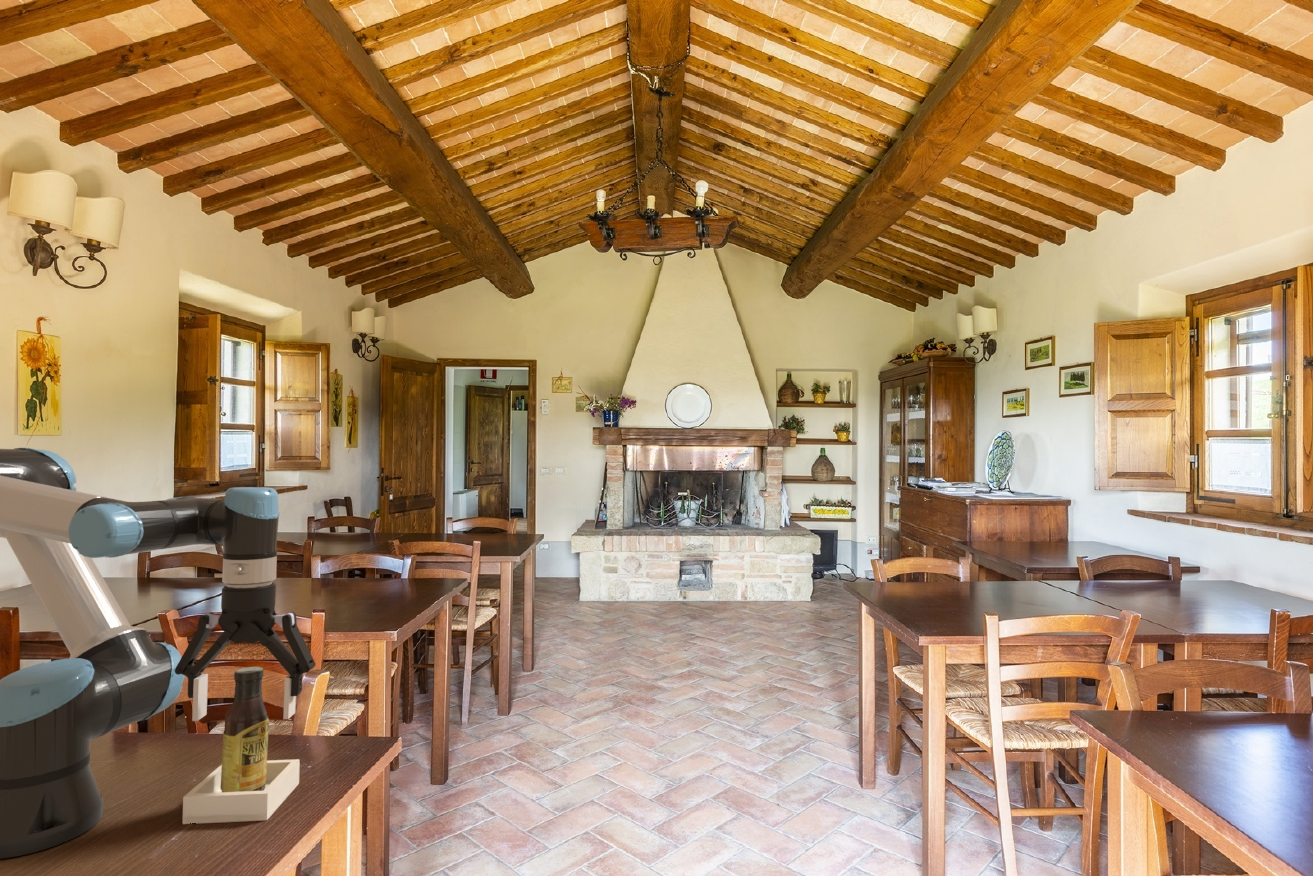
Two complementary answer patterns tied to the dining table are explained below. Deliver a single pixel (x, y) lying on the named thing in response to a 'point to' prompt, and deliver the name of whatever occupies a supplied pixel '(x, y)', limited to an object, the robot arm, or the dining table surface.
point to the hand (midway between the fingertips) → (244, 717)
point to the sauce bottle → (245, 735)
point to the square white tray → (240, 796)
